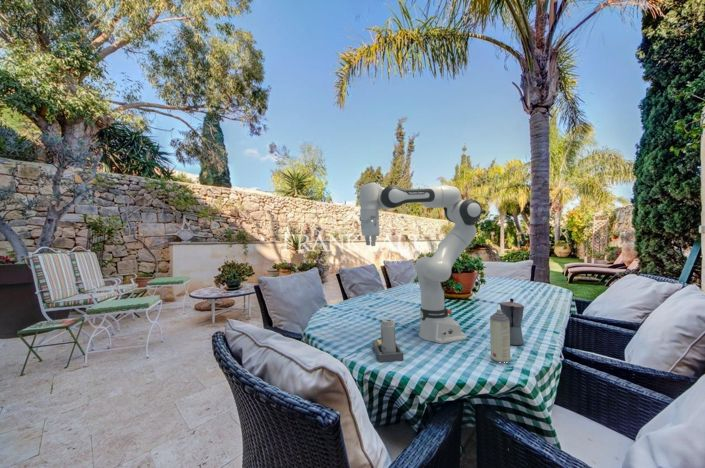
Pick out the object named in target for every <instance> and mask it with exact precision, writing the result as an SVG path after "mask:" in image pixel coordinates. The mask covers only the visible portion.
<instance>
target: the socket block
mask: <svg viewBox="0 0 705 468" xmlns="http://www.w3.org/2000/svg"><path fill="white" fill-rule="evenodd" d="M371 342H372V348H373V350H374V353H375V355H376V357H377V359H378V363H389V362H390V363H391V362H402V361H404V352H403V351H402V349H401V347H400V346H399V345H398V343H397V342H396V353H388V354H382V352H381V339H373V340H372V341H371Z"/></svg>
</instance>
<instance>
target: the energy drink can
mask: <svg viewBox="0 0 705 468" xmlns="http://www.w3.org/2000/svg"><path fill="white" fill-rule="evenodd" d="M380 340H381V352H380V353H381V354H388V353H396V343H397V341H396V324H395V321H394V320H393V319H392V318H384V319H382V320H381V323H380Z"/></svg>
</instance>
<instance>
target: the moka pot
mask: <svg viewBox="0 0 705 468" xmlns="http://www.w3.org/2000/svg"><path fill="white" fill-rule="evenodd" d="M499 306H500V307H499V308H500V309H501V310H502V313H504V314H505V315H506V317H508V318H509V325H510V346H511V345H512V346H522V345H524V336H523V331H522V322H523V317H524V309H525V306H524V305H523V304H521V303H519V302H514V298H511V297H510V298H509V301H504V302H503V301H502V302H500V303H499Z"/></svg>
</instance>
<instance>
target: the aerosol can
mask: <svg viewBox="0 0 705 468" xmlns="http://www.w3.org/2000/svg"><path fill="white" fill-rule="evenodd" d="M489 329H490V358H491V360H492V361H493V360H494V361H493V362H495V361H496V362H495V363H497V362H501V363H500V364H502V363H504V362H505V363H506V362H510V363H511V344H510V325H509V318H508V317H506V315H505V314H504V313H502V310H501V308H497V309H496V311H495V312H494V313H493V314H492V315H490V318H489Z"/></svg>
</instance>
